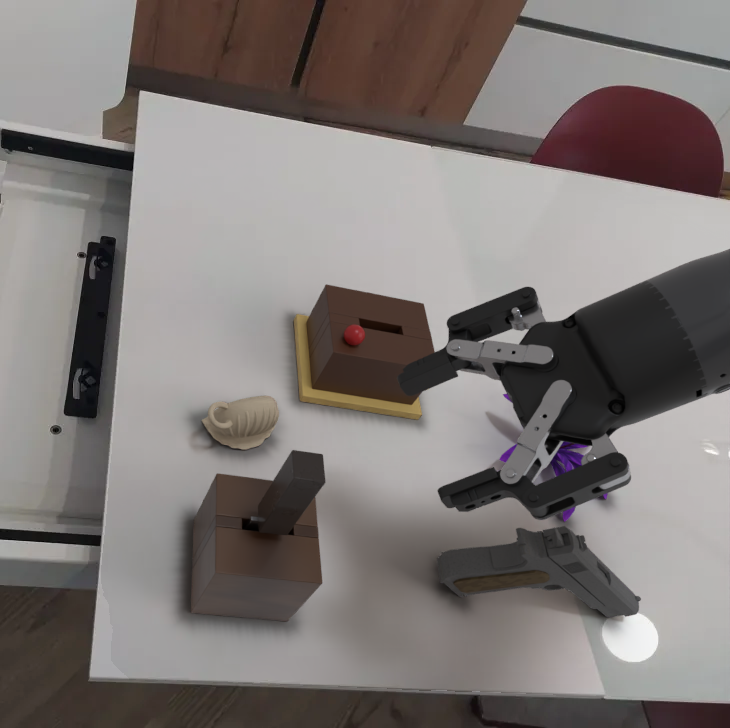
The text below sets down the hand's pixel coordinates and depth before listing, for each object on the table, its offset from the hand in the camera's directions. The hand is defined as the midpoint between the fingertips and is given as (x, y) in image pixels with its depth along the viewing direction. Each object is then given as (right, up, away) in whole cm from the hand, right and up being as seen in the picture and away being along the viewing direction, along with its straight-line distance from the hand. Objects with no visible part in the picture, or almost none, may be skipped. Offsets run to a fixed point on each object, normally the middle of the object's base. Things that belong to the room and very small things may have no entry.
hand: (420, 440), depth 48 cm
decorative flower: (+20, -5, +30) cm, 37 cm away
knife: (-12, -12, +13) cm, 21 cm away
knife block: (-12, -12, +13) cm, 21 cm away
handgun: (+14, -16, +19) cm, 29 cm away
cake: (0, +4, +30) cm, 31 cm away
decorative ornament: (-12, -1, +21) cm, 25 cm away
